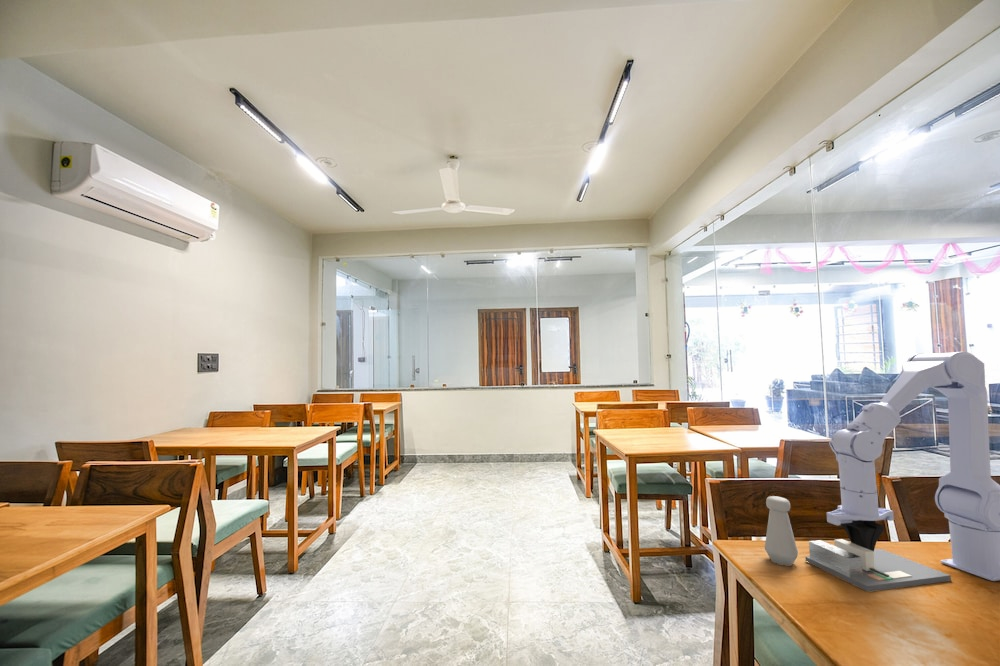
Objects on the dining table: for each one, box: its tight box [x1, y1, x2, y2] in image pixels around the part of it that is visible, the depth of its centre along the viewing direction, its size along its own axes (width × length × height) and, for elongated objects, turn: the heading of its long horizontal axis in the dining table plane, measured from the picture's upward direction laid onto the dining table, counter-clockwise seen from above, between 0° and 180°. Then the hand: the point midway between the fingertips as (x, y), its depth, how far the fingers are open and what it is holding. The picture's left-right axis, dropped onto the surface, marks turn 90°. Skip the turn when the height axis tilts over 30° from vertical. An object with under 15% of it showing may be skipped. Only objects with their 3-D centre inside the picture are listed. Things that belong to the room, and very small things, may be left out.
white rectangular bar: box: [833, 538, 889, 577], centre depth 80 cm, size 2×9×4 cm, turn 12°
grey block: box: [808, 539, 863, 578], centre depth 81 cm, size 3×8×4 cm, turn 12°
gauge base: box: [805, 548, 952, 593], centre depth 81 cm, size 20×12×1 cm, turn 102°
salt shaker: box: [764, 495, 798, 567], centre depth 86 cm, size 6×6×13 cm
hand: (863, 558), depth 82 cm, fingers closed
